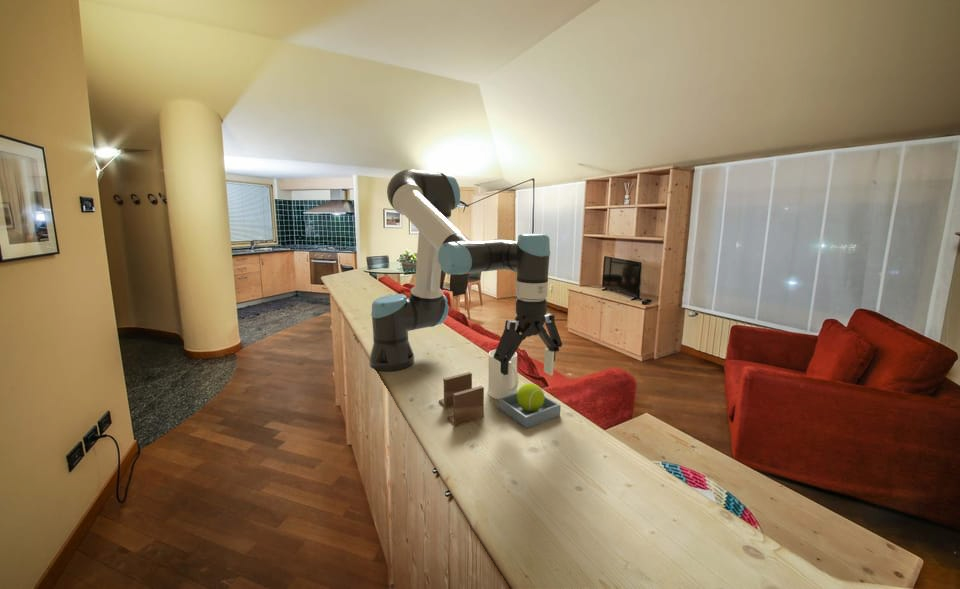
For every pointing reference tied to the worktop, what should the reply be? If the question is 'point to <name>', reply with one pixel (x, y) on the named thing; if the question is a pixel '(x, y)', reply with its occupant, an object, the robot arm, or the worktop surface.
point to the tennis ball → (530, 397)
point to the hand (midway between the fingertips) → (528, 379)
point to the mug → (501, 377)
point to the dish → (525, 417)
